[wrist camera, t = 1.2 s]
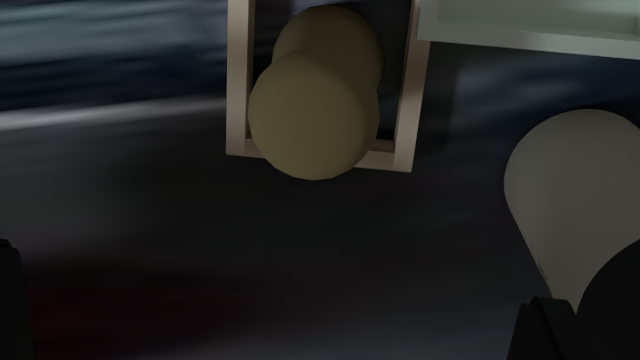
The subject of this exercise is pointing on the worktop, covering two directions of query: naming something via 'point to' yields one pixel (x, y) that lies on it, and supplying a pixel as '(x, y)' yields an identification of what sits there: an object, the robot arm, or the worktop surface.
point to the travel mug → (584, 220)
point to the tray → (536, 25)
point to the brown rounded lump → (319, 94)
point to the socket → (381, 151)
